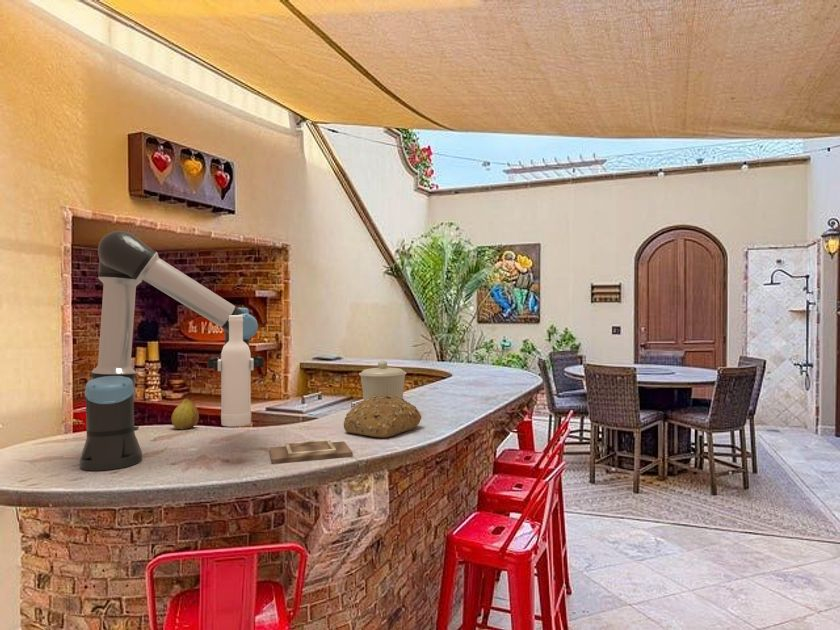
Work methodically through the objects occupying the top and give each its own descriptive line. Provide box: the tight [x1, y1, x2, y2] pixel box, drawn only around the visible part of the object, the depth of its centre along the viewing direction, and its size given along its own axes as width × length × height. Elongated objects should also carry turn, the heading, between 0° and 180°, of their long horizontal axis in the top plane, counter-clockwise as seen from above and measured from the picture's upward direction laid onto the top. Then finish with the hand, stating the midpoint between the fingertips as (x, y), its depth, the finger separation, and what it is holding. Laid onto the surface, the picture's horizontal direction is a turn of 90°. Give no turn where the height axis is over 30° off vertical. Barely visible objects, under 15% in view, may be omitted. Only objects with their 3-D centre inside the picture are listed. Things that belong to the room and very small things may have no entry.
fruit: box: [170, 393, 200, 430], centre depth 207 cm, size 9×9×12 cm
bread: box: [343, 395, 422, 439], centre depth 197 cm, size 24×21×12 cm
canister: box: [358, 360, 407, 400], centre depth 224 cm, size 18×18×21 cm
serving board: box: [269, 439, 354, 465], centre depth 168 cm, size 22×14×2 cm, turn 107°
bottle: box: [220, 315, 252, 428], centre depth 161 cm, size 8×8×30 cm
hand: (235, 365), depth 157 cm, fingers closed on bottle, 8 cm apart
